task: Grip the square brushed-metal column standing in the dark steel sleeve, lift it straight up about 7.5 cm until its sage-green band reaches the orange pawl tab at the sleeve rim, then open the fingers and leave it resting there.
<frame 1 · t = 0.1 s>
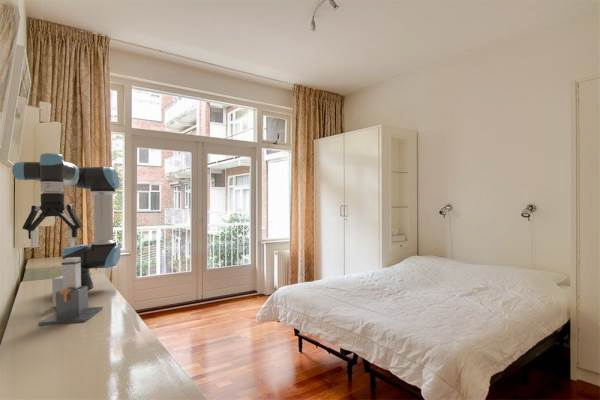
hand: (53, 246, 135), 28 cm above the cabinet, fingers open, 13 cm apart
supplement box: (66, 305, 153), on the cabinet
column: (72, 285, 136), point 12 cm above the cabinet, slide at 0.0 cm
stand base: (72, 316, 136), on the cabinet
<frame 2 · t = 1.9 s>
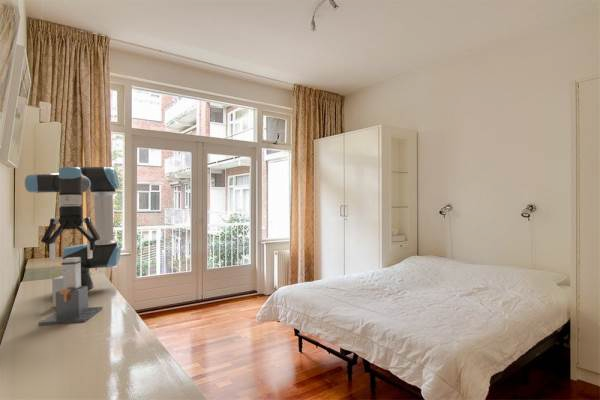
hand: (71, 259, 136), 23 cm above the cabinet, fingers open, 13 cm apart
nothing on the cabinet moved.
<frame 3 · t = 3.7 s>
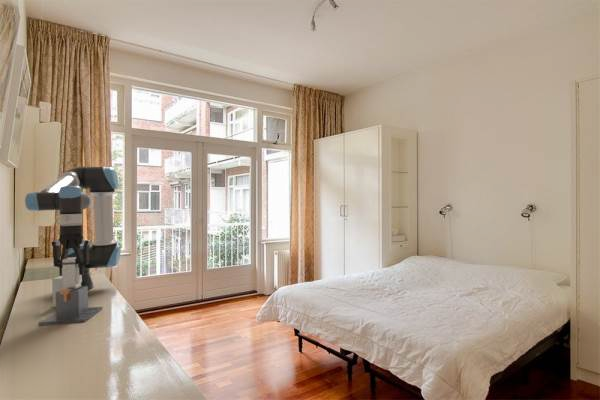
hand: (72, 283, 136), 13 cm above the cabinet, fingers closed on column, 4 cm apart
column: (72, 285, 136), point 12 cm above the cabinet, slide at 0.0 cm, touching gripper
everything else where it was.
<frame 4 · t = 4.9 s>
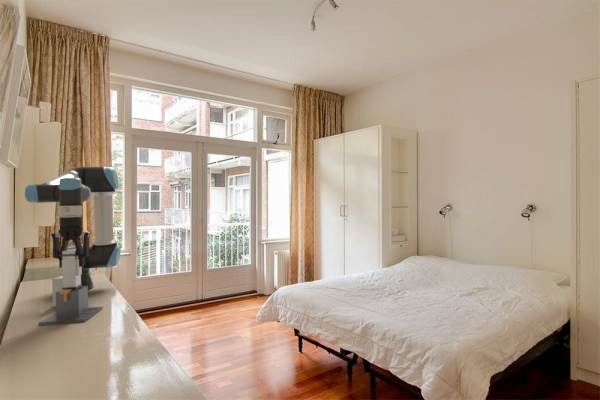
hand: (72, 275, 136), 16 cm above the cabinet, fingers closed on column, 4 cm apart
column: (72, 277, 136), point 15 cm above the cabinet, slide at 3.3 cm, touching gripper
everything else where it was.
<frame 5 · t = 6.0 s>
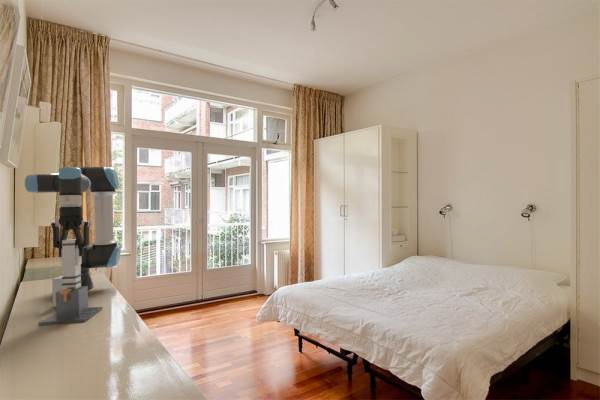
hand: (71, 264, 136), 21 cm above the cabinet, fingers closed on column, 4 cm apart
column: (71, 267, 136), point 20 cm above the cabinet, slide at 7.4 cm, touching gripper
everything else where it was.
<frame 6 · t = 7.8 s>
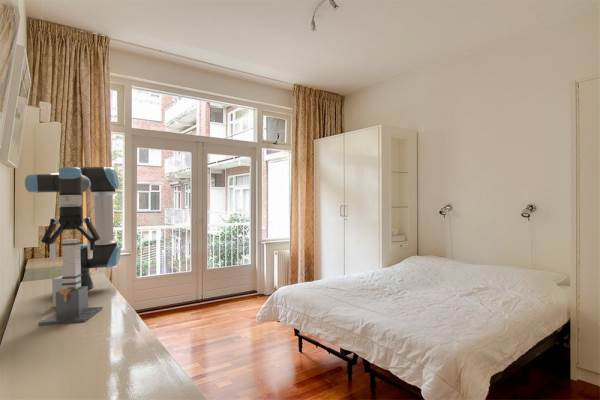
hand: (71, 259, 136), 23 cm above the cabinet, fingers open, 13 cm apart
column: (71, 267, 136), point 20 cm above the cabinet, slide at 7.5 cm
everything else where it was.
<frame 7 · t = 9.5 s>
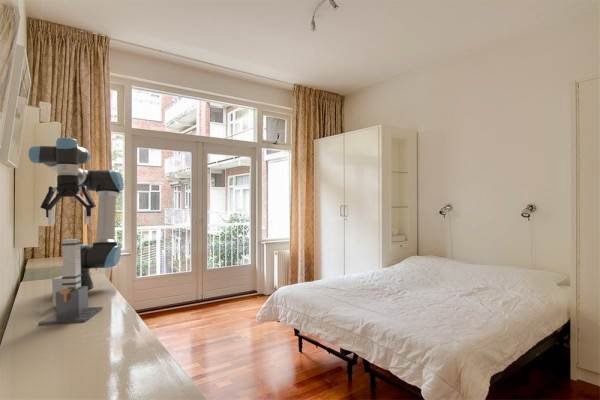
hand: (69, 224, 146), 36 cm above the cabinet, fingers open, 13 cm apart
nothing on the cabinet moved.
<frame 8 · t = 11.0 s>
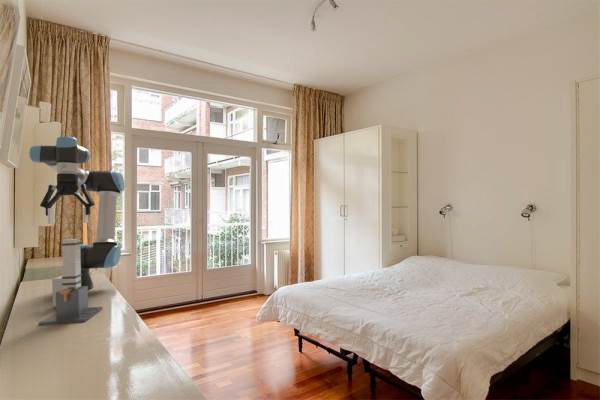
hand: (68, 223, 146), 37 cm above the cabinet, fingers open, 13 cm apart
nothing on the cabinet moved.
at the end: column slide at 7.5 cm; the gripper is holding nothing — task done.
